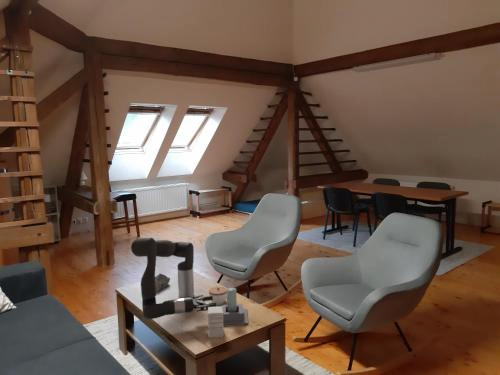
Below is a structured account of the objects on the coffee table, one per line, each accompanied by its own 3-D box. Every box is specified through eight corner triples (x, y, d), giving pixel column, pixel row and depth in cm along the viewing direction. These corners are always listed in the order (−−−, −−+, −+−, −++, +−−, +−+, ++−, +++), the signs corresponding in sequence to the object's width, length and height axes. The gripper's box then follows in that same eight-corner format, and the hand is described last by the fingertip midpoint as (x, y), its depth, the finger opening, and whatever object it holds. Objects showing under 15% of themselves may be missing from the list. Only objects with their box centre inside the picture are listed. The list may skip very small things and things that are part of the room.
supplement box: (208, 330, 199) (207, 306, 197) (223, 329, 199) (222, 305, 198) (208, 338, 191) (207, 313, 190) (223, 337, 192) (223, 312, 190)
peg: (227, 314, 214) (226, 287, 212) (236, 314, 214) (236, 287, 212) (227, 318, 209) (226, 291, 207) (237, 318, 209) (236, 291, 207)
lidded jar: (218, 297, 238) (218, 282, 237) (231, 301, 232) (231, 286, 230) (205, 303, 230) (205, 287, 229) (218, 308, 223) (218, 292, 222)
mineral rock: (169, 283, 262) (168, 268, 260) (174, 288, 253) (173, 273, 251) (149, 287, 256) (149, 272, 254) (154, 293, 246) (153, 277, 245)
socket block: (217, 311, 219) (217, 303, 218) (246, 310, 220) (246, 302, 219) (216, 325, 203) (216, 316, 203) (247, 324, 204) (247, 315, 203)
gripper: (185, 304, 195) (217, 299, 200) (180, 293, 209) (211, 289, 213) (185, 318, 196) (217, 313, 201) (181, 306, 210) (211, 302, 214)
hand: (214, 301), depth 207 cm, fingers open, 8 cm apart
